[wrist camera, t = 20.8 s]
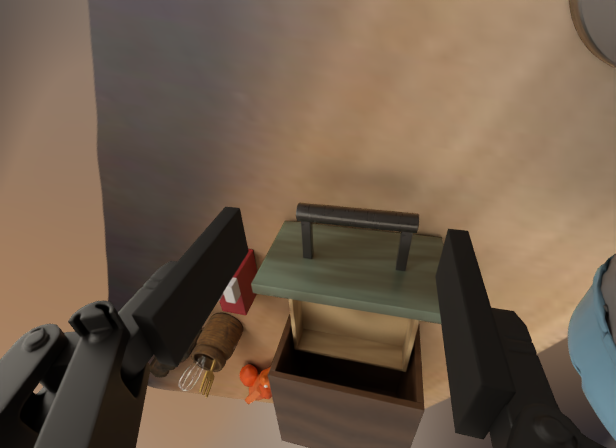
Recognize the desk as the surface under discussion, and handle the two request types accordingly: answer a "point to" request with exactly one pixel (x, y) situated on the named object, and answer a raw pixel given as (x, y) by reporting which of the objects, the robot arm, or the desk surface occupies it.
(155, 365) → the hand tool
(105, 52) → the desk surface
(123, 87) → the desk surface
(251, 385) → the orange toy bird
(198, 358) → the utensil holder
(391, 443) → the cabinet
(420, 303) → the drawer
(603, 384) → the robot arm
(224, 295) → the red base white blocks
